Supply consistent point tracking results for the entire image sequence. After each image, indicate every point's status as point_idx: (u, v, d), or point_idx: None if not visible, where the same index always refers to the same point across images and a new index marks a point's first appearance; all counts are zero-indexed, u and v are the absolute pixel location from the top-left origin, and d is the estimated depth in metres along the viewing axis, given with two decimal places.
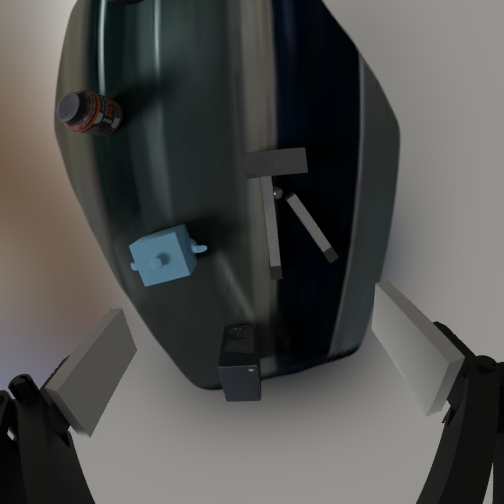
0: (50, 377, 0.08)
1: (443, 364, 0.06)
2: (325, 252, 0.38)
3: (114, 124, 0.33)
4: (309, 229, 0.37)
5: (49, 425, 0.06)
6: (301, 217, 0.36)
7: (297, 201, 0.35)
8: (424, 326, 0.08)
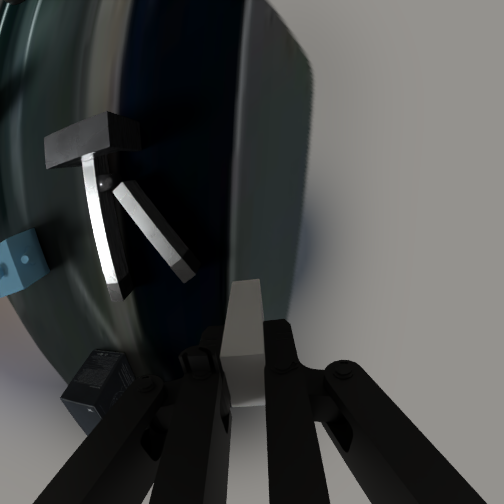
0: None
1: None
2: (174, 266, 0.25)
3: None
4: (145, 232, 0.24)
5: (218, 411, 0.07)
6: (132, 215, 0.23)
7: (125, 192, 0.22)
8: (251, 320, 0.11)
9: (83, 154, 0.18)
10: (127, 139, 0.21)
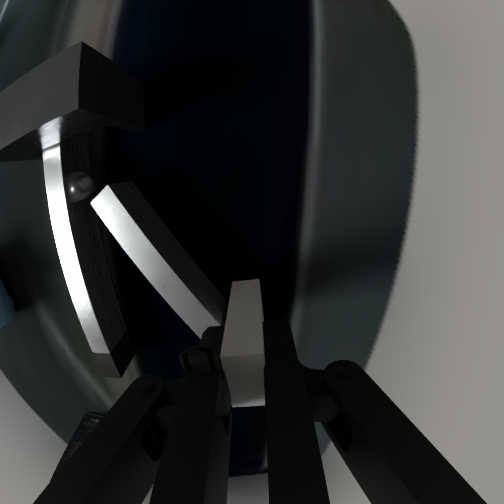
0: None
1: None
2: None
3: None
4: (153, 280, 0.13)
5: (218, 410, 0.07)
6: (128, 248, 0.12)
7: (114, 205, 0.12)
8: (250, 320, 0.11)
9: (30, 130, 0.07)
10: (119, 104, 0.10)
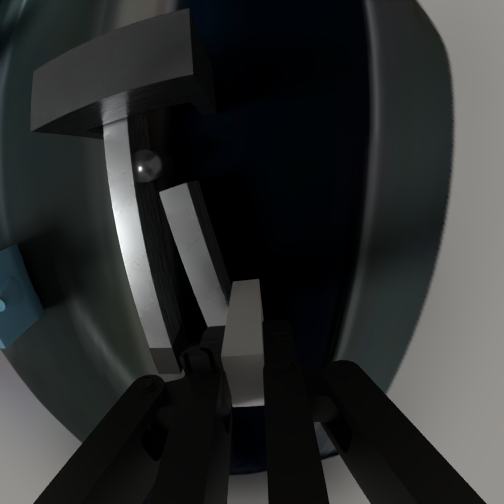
0: None
1: None
2: None
3: None
4: (196, 288, 0.13)
5: (219, 410, 0.07)
6: (184, 251, 0.13)
7: (185, 206, 0.12)
8: (250, 320, 0.11)
9: (119, 91, 0.07)
10: (207, 82, 0.10)
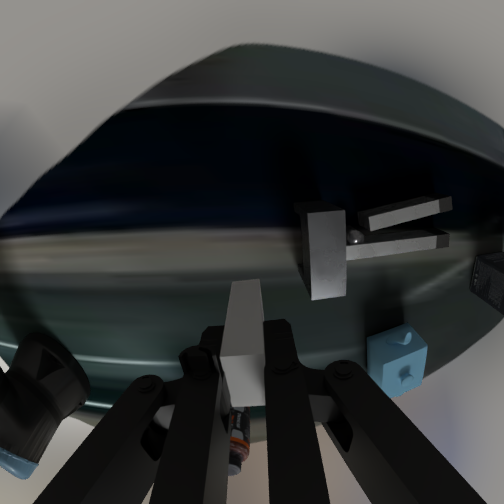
0: None
1: None
2: (441, 209, 0.24)
3: (241, 407, 0.32)
4: (412, 217, 0.24)
5: (218, 410, 0.07)
6: (396, 221, 0.24)
7: (378, 218, 0.24)
8: (251, 320, 0.11)
9: (345, 243, 0.21)
10: (322, 205, 0.23)
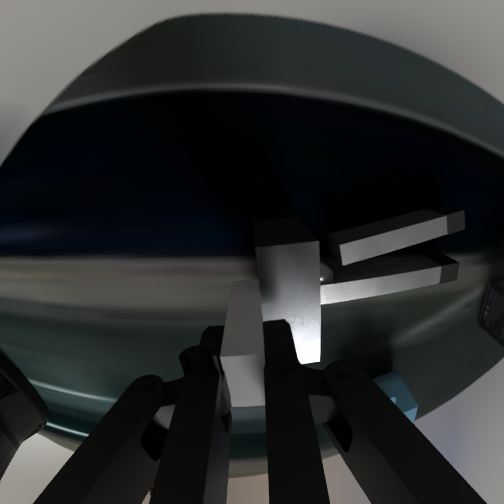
0: None
1: None
2: (449, 229, 0.16)
3: None
4: (407, 243, 0.17)
5: (218, 410, 0.07)
6: (383, 250, 0.17)
7: (355, 246, 0.17)
8: (250, 320, 0.11)
9: (319, 292, 0.13)
10: (290, 227, 0.16)
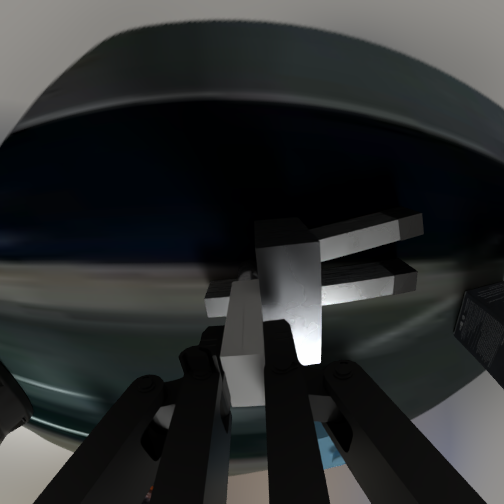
0: None
1: None
2: (402, 235, 0.16)
3: None
4: (348, 251, 0.16)
5: (218, 410, 0.07)
6: None
7: None
8: (251, 320, 0.11)
9: (320, 293, 0.13)
10: (291, 227, 0.16)
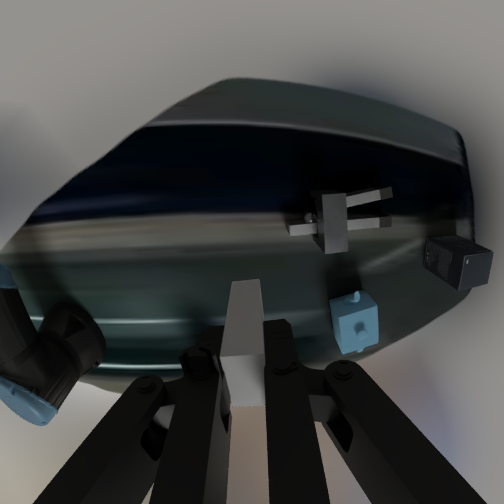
0: None
1: None
2: (381, 197, 0.34)
3: None
4: (355, 203, 0.35)
5: (218, 410, 0.07)
6: None
7: None
8: (251, 320, 0.11)
9: (346, 215, 0.31)
10: (331, 191, 0.34)
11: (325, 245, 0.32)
